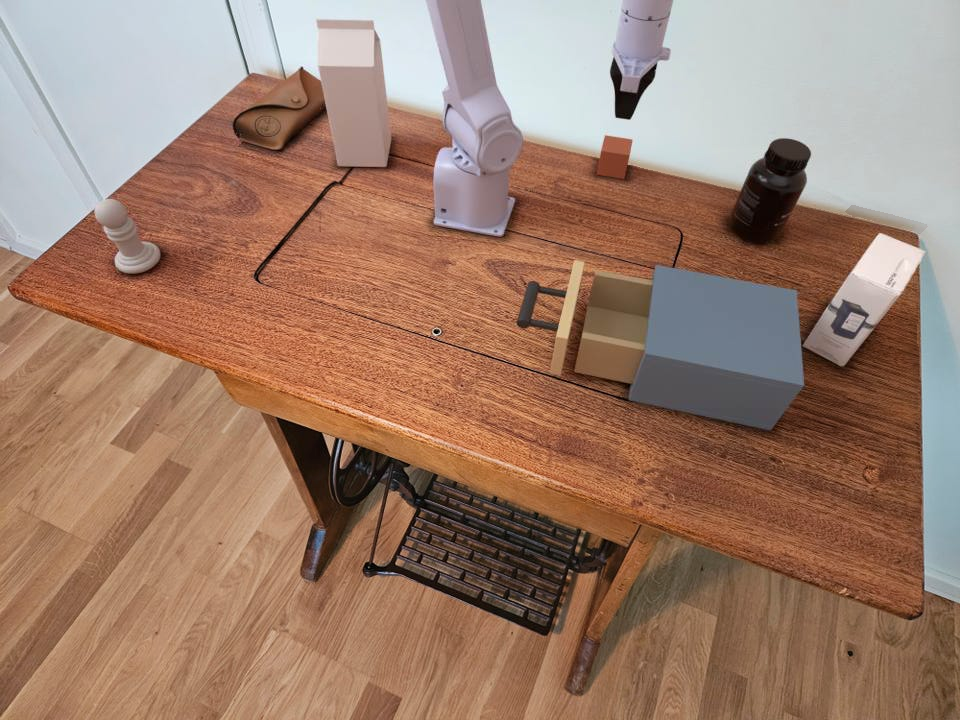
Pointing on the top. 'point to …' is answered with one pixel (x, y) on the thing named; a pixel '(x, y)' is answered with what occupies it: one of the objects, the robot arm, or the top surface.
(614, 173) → the block
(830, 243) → the top surface
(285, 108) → the sunglasses case
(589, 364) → the drawer
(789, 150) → the supplement bottle
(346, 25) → the milk carton
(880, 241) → the ink box
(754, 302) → the cabinet
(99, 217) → the chess piece
